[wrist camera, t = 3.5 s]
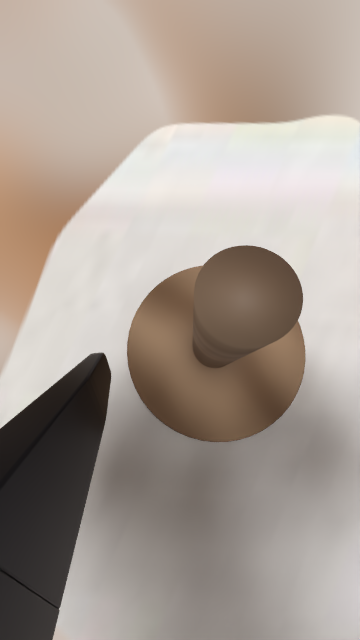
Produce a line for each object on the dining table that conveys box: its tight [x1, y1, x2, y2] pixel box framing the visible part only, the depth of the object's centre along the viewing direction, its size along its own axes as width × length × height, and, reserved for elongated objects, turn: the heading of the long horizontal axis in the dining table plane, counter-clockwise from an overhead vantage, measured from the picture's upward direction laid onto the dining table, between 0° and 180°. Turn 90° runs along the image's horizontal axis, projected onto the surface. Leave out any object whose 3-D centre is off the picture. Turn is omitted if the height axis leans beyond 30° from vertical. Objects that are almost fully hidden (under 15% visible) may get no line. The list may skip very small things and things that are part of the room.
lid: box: [127, 246, 305, 442], centre depth 12 cm, size 12×12×11 cm
